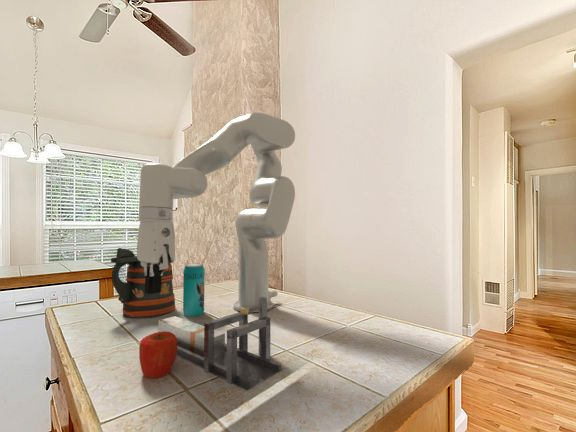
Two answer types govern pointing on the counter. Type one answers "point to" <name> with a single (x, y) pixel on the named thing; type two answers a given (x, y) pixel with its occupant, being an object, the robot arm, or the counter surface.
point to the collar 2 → (242, 330)
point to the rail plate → (248, 366)
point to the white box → (192, 335)
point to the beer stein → (141, 288)
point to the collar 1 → (209, 336)
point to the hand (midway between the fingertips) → (152, 292)
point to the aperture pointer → (262, 313)
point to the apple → (157, 354)
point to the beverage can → (193, 290)
